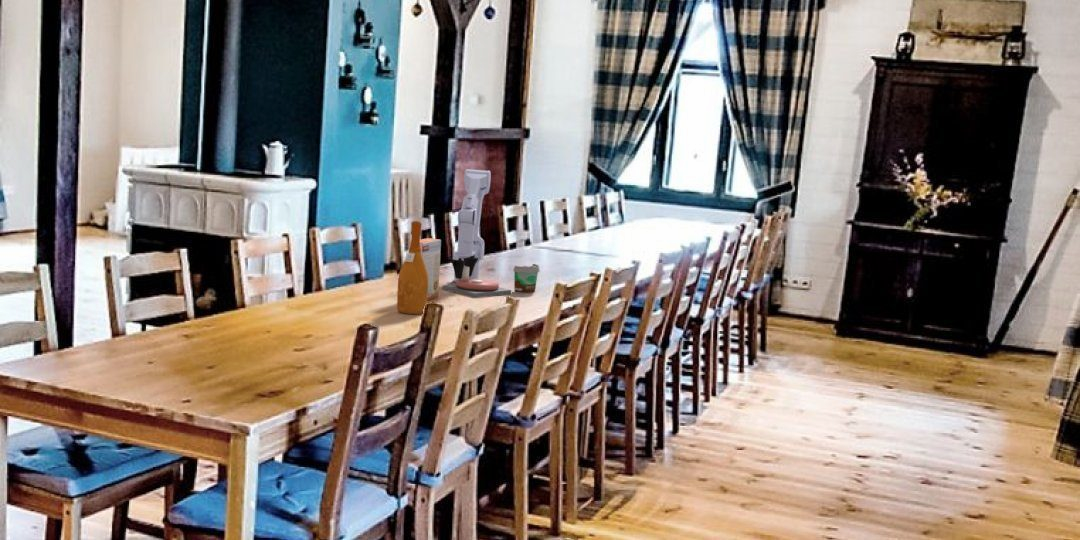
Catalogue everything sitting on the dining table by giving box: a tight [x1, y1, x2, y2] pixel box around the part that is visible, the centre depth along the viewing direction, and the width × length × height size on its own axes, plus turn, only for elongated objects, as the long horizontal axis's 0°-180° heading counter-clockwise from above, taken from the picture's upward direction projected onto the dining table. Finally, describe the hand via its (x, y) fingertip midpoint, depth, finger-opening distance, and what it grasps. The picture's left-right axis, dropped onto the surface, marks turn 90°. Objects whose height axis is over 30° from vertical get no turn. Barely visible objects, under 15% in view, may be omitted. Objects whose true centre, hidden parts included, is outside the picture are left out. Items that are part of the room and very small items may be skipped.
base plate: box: [442, 283, 512, 299], centre depth 406 cm, size 18×18×2 cm
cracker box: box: [408, 237, 442, 301], centre depth 381 cm, size 14×6×21 cm, turn 158°
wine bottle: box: [396, 220, 428, 315], centre depth 356 cm, size 10×10×30 cm
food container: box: [513, 263, 541, 294], centre depth 413 cm, size 12×6×10 cm, turn 143°
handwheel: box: [455, 266, 500, 290], centre depth 405 cm, size 16×16×6 cm
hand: (463, 277), depth 407 cm, fingers open, 7 cm apart
